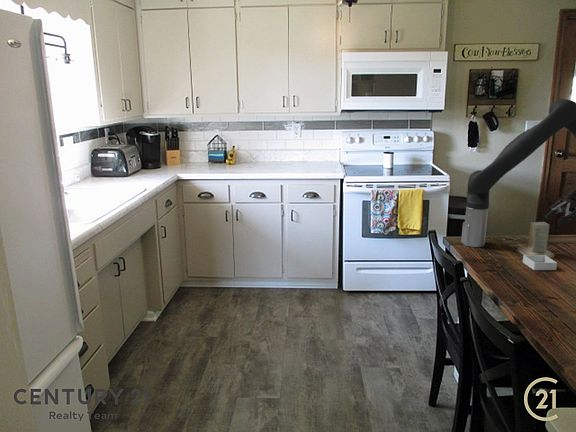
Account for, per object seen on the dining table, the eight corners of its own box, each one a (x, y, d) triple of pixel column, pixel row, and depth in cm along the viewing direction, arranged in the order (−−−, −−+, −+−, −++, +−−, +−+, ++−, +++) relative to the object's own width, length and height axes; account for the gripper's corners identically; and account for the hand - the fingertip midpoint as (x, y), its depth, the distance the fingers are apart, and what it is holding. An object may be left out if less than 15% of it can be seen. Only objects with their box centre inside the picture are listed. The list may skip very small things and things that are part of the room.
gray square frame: (533, 270, 189) (534, 262, 189) (522, 262, 198) (523, 255, 197) (556, 269, 190) (557, 262, 189) (543, 261, 198) (544, 255, 197)
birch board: (528, 257, 203) (528, 254, 202) (517, 250, 212) (517, 247, 211) (553, 257, 203) (554, 254, 203) (542, 250, 212) (542, 247, 212)
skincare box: (541, 249, 209) (545, 221, 206) (546, 252, 205) (550, 224, 202) (526, 249, 209) (530, 221, 206) (531, 252, 205) (535, 224, 202)
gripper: (567, 184, 208) (538, 211, 210) (589, 191, 194) (557, 219, 196) (577, 196, 209) (548, 222, 212) (600, 204, 196) (568, 232, 198)
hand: (552, 221), depth 204 cm, fingers open, 8 cm apart
